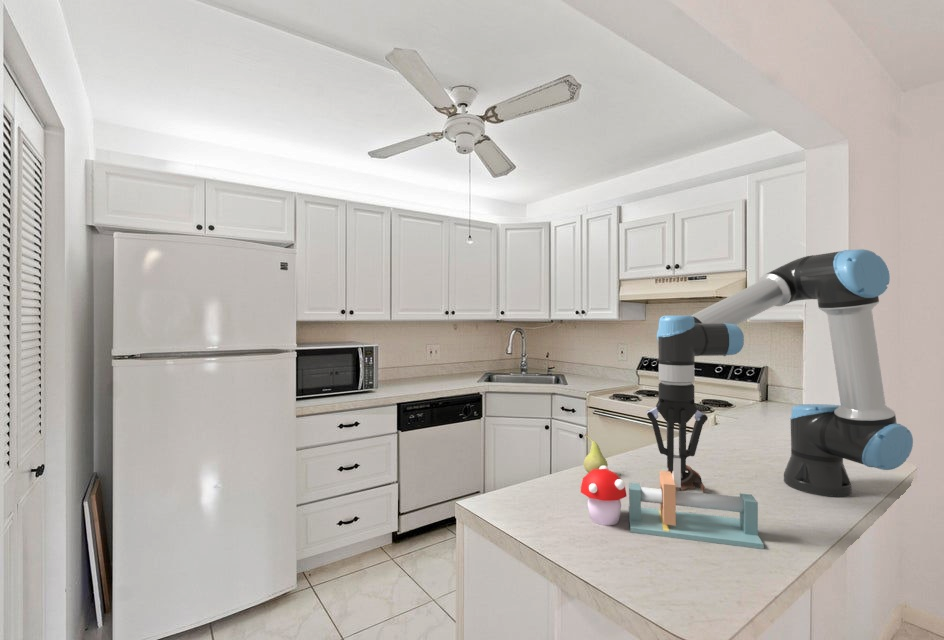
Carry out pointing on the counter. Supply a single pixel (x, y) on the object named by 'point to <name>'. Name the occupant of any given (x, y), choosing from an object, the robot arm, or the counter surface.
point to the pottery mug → (690, 480)
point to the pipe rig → (697, 517)
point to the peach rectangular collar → (668, 498)
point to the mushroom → (603, 495)
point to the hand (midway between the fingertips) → (676, 484)
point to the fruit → (594, 458)
